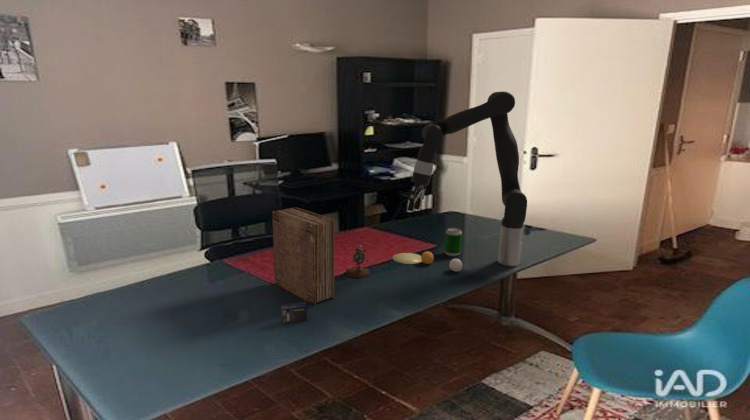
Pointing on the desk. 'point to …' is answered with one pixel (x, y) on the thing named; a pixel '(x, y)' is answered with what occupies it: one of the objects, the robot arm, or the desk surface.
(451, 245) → the soda can
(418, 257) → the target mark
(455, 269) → the cue ball
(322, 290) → the book
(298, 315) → the mini dv tape
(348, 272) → the robot figurine
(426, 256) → the orange ball
